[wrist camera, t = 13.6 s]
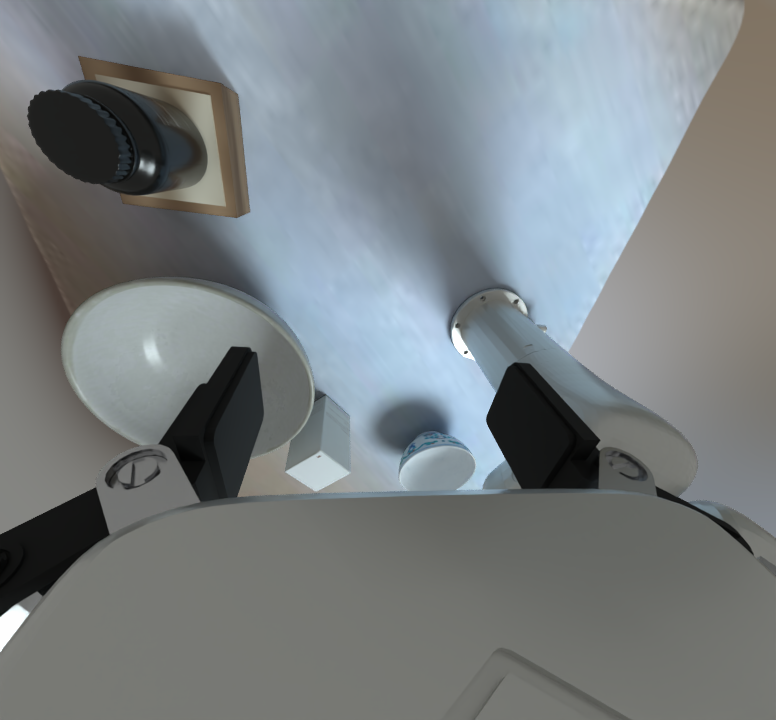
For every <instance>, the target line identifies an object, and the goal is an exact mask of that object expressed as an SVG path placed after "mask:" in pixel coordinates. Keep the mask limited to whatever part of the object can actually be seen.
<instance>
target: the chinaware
mask: <svg viewBox="0 0 776 720" xmlns="http://www.w3.org/2000/svg"><path fill="white" fill-rule="evenodd" d="M475 469H476V461H475V458H474V456H473V455H472V453H471V452H470V451H469V449H468V448H467V447H466V446H465V445H464V444H463V443H462V442H460V441H459V440H458V439H456V438H454V437H452V436H450V435H447V434H443V433H439V432H436V431H427V432H424V433H421V434H420V435H418V436H417V437H416V438H415V440H414V441H413V442H412V443H410V445H409V446H408V447H407V448H406V450H405V451H404V453H403V456H402V458H401V462H400V466H399V481H400V484H401V485H402V487H403V488H404V489H405V490H407V491H437V490H456V489H458V488H460V487H462V486H463V485H464V484H466V483H467V482H468V481H469V480H470V479H471V477H472V476H473V474H474V472H475Z"/></svg>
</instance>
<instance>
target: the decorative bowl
mask: <svg viewBox="0 0 776 720" xmlns="http://www.w3.org/2000/svg"><path fill="white" fill-rule="evenodd" d="M231 346H238V347H250V348H251V350H252V352H257V356H258V364H259V372H260V381H261V389H262V398H263V406H264V418H263V422H262V425H261V428H260V431H259V434H258V437H257V439H256V442H255V445H254V448H253V451H252V454H251V457H250V459H253V458H256V457H260V456H263V455H266V454H268V453H271V452H273V451H275V450H277V449H279V448H281V447H282V446H284V445H285V444H287V443H288V442H289V441H291V440H292V439H293V438H294V437H295V436H296V435H297V434H298V433H299V432H300V431H301V430H302V428H303V427H304V426H305V424H306V422H307V421H308V419H309V417H310V414H311V412H312V408H313V404H314V397H315V385H314V377H313V373H312V369H311V366H310V363H309V360H308V357H307V355H306V353H305V350H304V348H303V346H302V345H301V343H300V341H299V339H298V338H297V336H296V335H295V333H294V332H293V331H292V329H291V328H290V327H289V326H288V325H287V323H286V322H285V321H284V320H283V319H282V318H281V317H280V316H279V315H278V314H276V313H275V312H274V311H273V310H272V309H270V308H269V307H268V306H266V305H265V304H264V303H262V302H261V301H259V300H257V299H256V298H254V297H252V296H250V295H248V294H246V293H244V292H242V291H240V290H237V289H235V288H232V287H229V286H227V285H224V284H220V283H216V282H212V281H207V280H202V279H195V278H185V277H154V278H144V279H138V280H132V281H128V282H123V283H119V284H116V285H114V286H111V287H108V288H106V289H104V290H102V291H99V292H98V293H96V294H94V295H92V296H91V297H89V298H88V299H87V300H86V301H84V302H83V303H82V304H81V305H80V306H79V307H78V308H77V309H76V310H75V311H74V313H73V314H72V315H71V317H70V319H69V320H68V322H67V324H66V327H65V329H64V332H63V336H62V342H61V357H62V363H63V367H64V371H65V373H66V376H67V378H68V380H69V383H70V385H71V386H72V388H73V390H74V392H75V393H76V394H77V396H78V397H79V399H80V400H81V401H82V402H83V404H84V405H85V406H86V407H87V408H88V409H89V410H90V411H91V412H92V413H93V414H94V415H95V416H96V417H97V418H98V419H99V420H100V421H102V422H103V423H104V424H105V425H107V426H108V427H109V428H111V429H112V430H114V431H115V432H117V433H118V434H120V435H122V436H124V437H125V438H127V439H129V440H130V441H132V442H134V443H136V444H139V445H141V446H142V445H149V444H158V443H159V442H160V440H161V439H162V437H163V436H164V435H165V433H166V432H167V430H168V429H169V427H170V426H171V424H172V423H173V421H174V420H175V419H176V417H177V416H178V414H179V413H180V411H181V410H182V408H183V407H184V406H185V404H186V403H187V401H188V400H189V398H190V397H191V395H192V394H193V392H194V391H195V390H196V388H197V387H198V386H199V385H200V384H202V383H207V382H208V381H209V379H210V378H211V376H212V375H213V373H214V372H215V370H216V369H217V367H218V365H219V364H220V362H221V361H222V359H223V358H224V356H225V355H226V353H227V352H228V350H229V349H230V347H231Z"/></svg>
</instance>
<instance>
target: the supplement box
mask: <svg viewBox="0 0 776 720" xmlns="http://www.w3.org/2000/svg"><path fill="white" fill-rule="evenodd" d="M285 472H286V473H287V474H289V475H291V476H292V477H294V478H295V479H297V480H298V481H300V482H302V483H303V484H305V485H306V486H308V487H309V488H311V489H312V490H314V491H315V492H316V491H318V490H320V489H322V488H324V487H326V486H328V485H330V484H331V483H333V482H335V481H337V480H339V479H340V478H342V477H344V476H346V475H348V474H350V473H351V463H350V416H349V415H347V414H346V413H345V412H344V411H343V410H342V409H341V408H340V407H339V406H338V405H336V404H335V403H334V402H333V401H332V400H331V399H330V398H329V397H328V396H326V395H325V396H324V397H322V398H320V399H319V400H317V401H315V402H314V404H313V408H312V412H311V414H310V417H309V419H308V421H307V422H306V424H305V426H304V427H303V428H302V430H301V431H300V432H299V433H298V434H297V435H296V436H295V437H294V438H293V439H292V440H291V443H290V447H289V453H288V458H287V463H286V468H285Z"/></svg>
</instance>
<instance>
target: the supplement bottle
mask: <svg viewBox="0 0 776 720" xmlns="http://www.w3.org/2000/svg"><path fill="white" fill-rule="evenodd" d="M28 112H29V113H28V115H27V117H28V120H29V127H30V129H31V133H32V136H33V137H34V138H35V140H36V144H37V145H38V146H39V147H40V148H41V150H42V152H43V153H44V154H45V155H46V156H47V157H48V158H49V160H50V161H51V162H53V163H54V164H55V165H56V166H57V167H58V168H59V169H61V170H63V171H64V172H65V173H66V174H68V175H71V176H72V177H74V178H75V179H80V180H81V181H83V182H89V183H92V184H101V185H103V186H104V187H106V188H108V189H110V190H113V191H115V192H118V193H121V194H125V195H132V196H141V195H149V194H155V193H160V192H166V191H172V190H178V189H183V188H188V187H191V186H193V185H195V184H197V183H198V182H199V181H200V180H201V179H202V178H203V176H204V175H205V172H206V169H207V164H208V155H207V149H206V146H205V142H204V140H203V138H202V136H201V134H200V132H199V130H198V129H197V127H196V126H195V124H194V123H193V122H192V121H191V120H190V118H189V117H188V116H187V115H185V114H184V113H183V112H182V111H181V110H179V109H178V108H176V107H175V106H173V105H171V104H169V103H167V102H165V101H162V100H159V99H156V98H153V97H150V96H146V95H143V94H140V93H137V92H134V91H130V90H127V89H124V88H121V87H118V86H115V85H111V84H108V83H105V82H100V81H95V80H79V81H75V82H72V83H70V84H68V85H67V86H66V87H64V88H63V89H62V90H47V91H46V92H45V91H41V92H40V93H39V95H34V99H33V100H31V101H30V106H29V107H28Z"/></svg>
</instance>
